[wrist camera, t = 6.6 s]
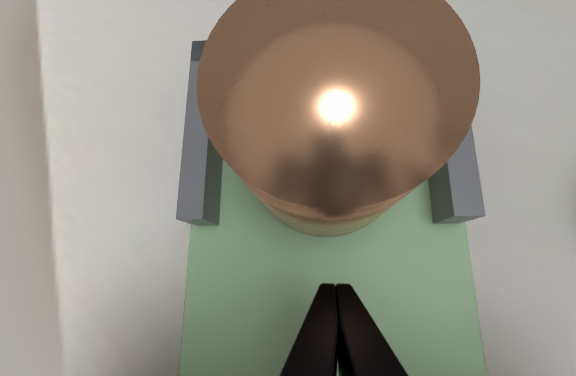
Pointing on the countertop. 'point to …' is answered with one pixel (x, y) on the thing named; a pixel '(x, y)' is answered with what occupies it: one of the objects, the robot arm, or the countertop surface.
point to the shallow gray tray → (208, 165)
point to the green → (327, 269)
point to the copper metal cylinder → (337, 103)
